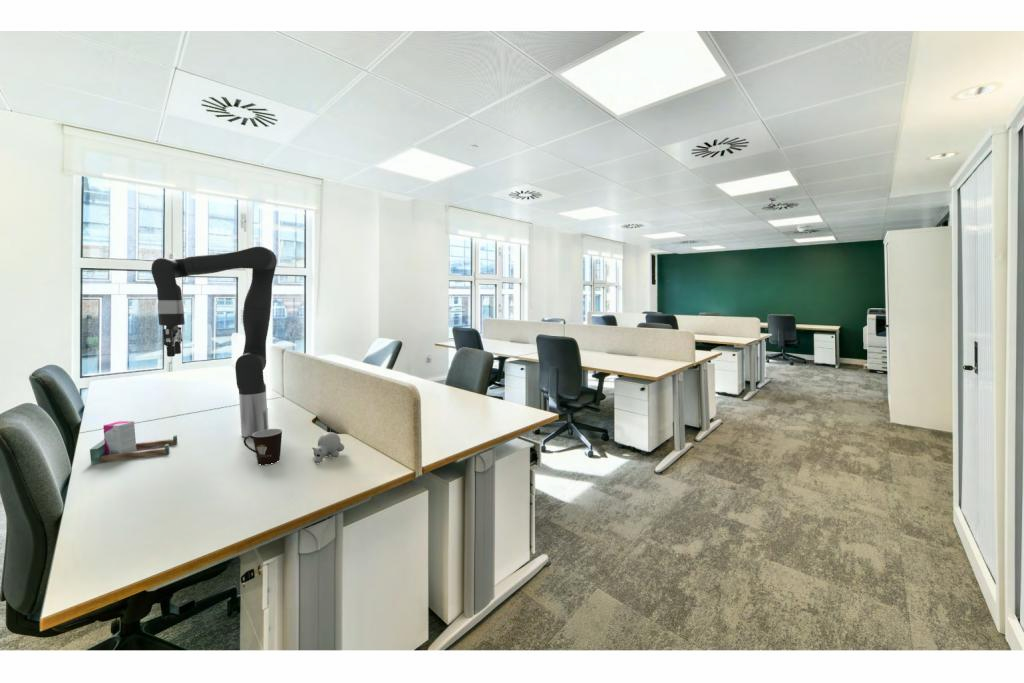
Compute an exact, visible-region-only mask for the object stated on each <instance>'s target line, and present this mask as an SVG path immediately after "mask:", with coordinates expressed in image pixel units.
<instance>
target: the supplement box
mask: <svg viewBox="0 0 1024 683" xmlns="http://www.w3.org/2000/svg"><path fill="white" fill-rule="evenodd" d="M103 436H104V437H103V438H104V439H103V440H105V452H106V455H111V454H119V453H127V452H135V451H137V450H136V443H137V442H136V440H137V439H136V428H135V421H134V420H133V421H128V420H124V421H123V420H119V421H115V422H112V423H109V424H104V425H103Z"/></svg>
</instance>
